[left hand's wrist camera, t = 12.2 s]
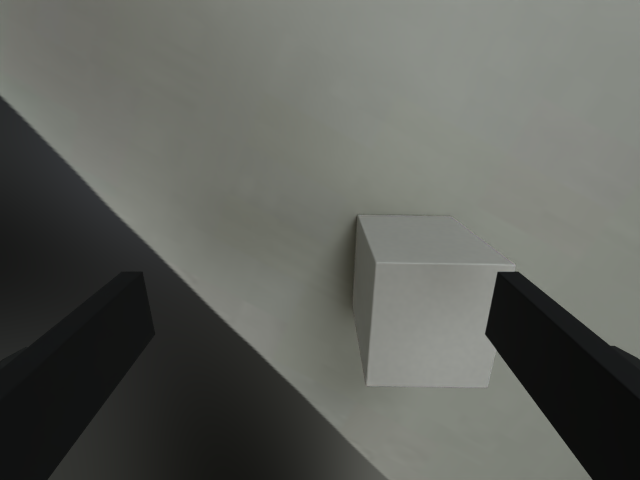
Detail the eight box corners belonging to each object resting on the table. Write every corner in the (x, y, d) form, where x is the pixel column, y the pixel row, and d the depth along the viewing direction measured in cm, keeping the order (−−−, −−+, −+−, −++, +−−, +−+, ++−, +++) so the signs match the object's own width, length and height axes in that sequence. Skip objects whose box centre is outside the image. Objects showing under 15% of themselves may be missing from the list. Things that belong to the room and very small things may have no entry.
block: (437, 307, 30) (488, 388, 21) (352, 306, 30) (365, 387, 21) (451, 215, 27) (516, 264, 18) (357, 214, 27) (375, 262, 18)
